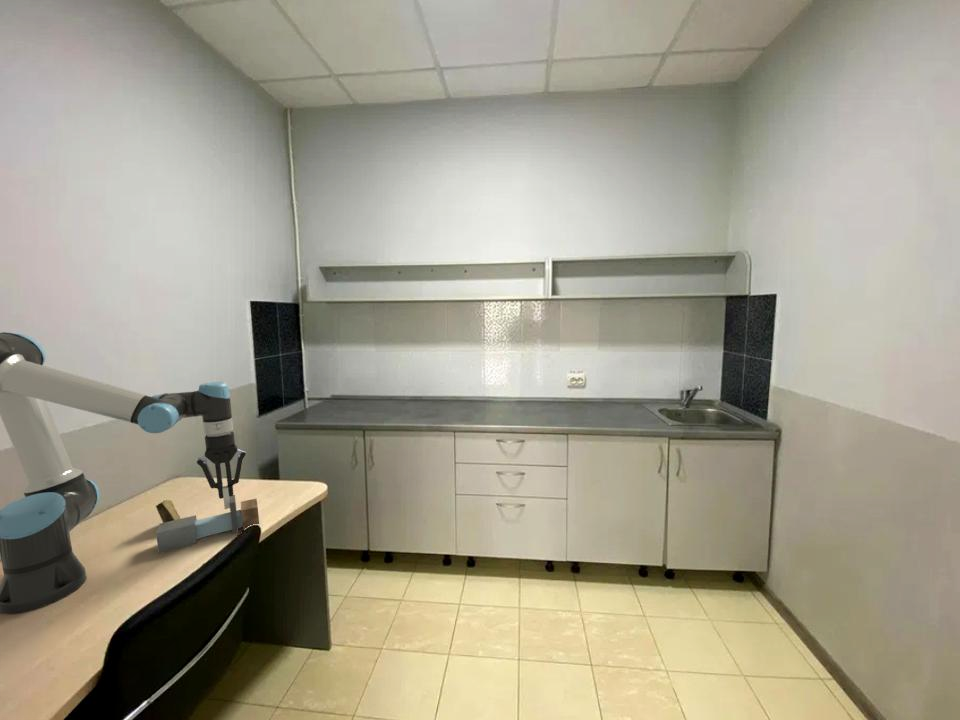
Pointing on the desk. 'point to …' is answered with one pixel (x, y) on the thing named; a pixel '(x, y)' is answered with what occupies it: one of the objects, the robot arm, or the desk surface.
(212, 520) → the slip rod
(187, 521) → the sleeve
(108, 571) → the desk surface
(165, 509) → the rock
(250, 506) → the socket block
